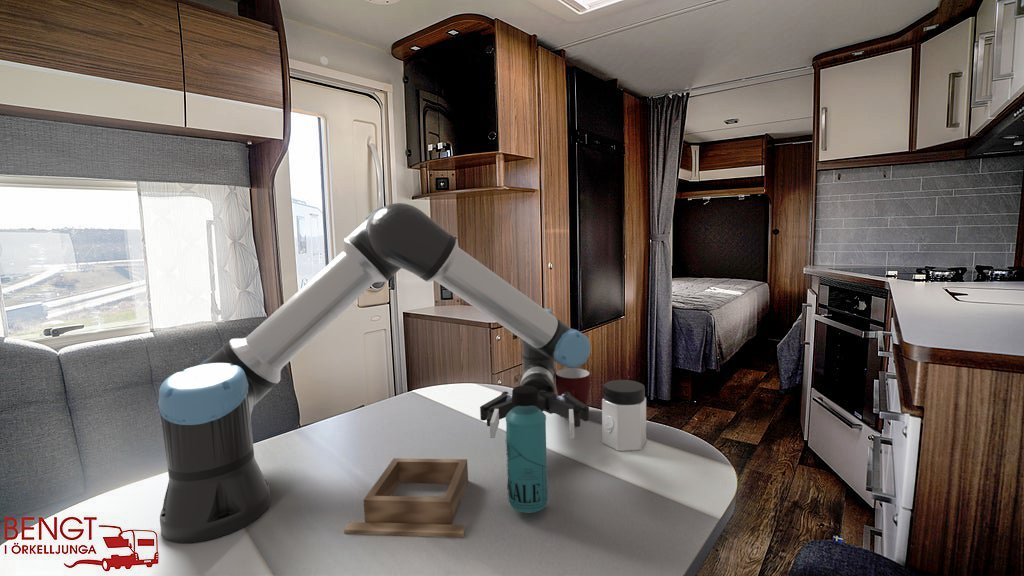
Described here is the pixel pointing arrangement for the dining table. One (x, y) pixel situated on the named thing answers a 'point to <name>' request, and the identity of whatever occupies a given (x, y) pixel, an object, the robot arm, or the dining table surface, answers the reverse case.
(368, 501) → the square wooden frame
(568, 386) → the mug
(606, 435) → the jar
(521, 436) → the beverage bottle
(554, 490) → the dining table surface
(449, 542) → the dining table surface
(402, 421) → the dining table surface
